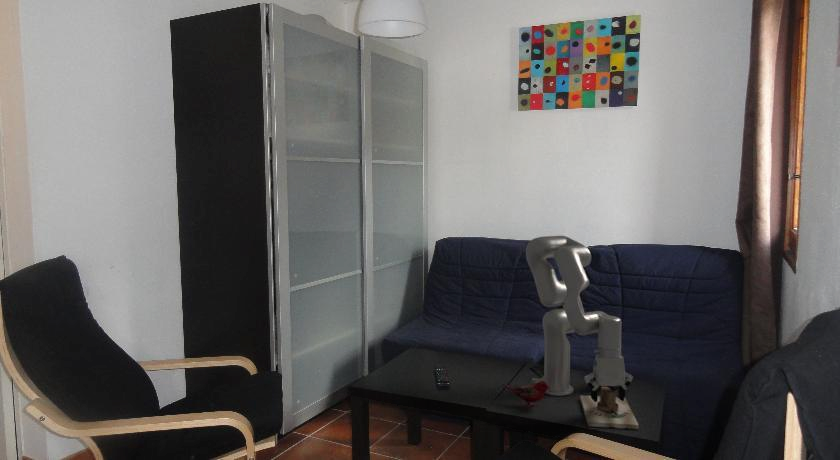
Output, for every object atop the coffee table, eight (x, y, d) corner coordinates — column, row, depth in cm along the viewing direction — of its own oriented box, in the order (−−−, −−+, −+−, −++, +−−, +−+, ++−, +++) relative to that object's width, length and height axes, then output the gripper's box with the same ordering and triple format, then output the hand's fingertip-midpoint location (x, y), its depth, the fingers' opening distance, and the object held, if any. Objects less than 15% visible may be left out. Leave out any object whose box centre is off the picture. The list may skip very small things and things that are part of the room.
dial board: (588, 426, 197) (588, 421, 196) (580, 399, 220) (580, 394, 220) (638, 429, 194) (638, 424, 194) (624, 401, 218) (625, 397, 218)
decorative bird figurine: (548, 411, 209) (548, 383, 208) (500, 402, 217) (501, 375, 216) (550, 408, 212) (551, 381, 211) (503, 399, 220) (504, 373, 219)
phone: (547, 365, 257) (562, 376, 243) (546, 367, 258) (562, 379, 243) (530, 366, 256) (544, 377, 241) (529, 368, 256) (544, 380, 241)
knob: (593, 404, 210) (594, 387, 209) (612, 404, 211) (613, 386, 210) (606, 416, 200) (607, 398, 199) (626, 415, 200) (626, 397, 200)
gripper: (589, 356, 200) (588, 405, 202) (638, 354, 202) (636, 403, 204) (581, 349, 208) (579, 397, 209) (628, 348, 210) (626, 395, 211)
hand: (607, 400), depth 207 cm, fingers open, 9 cm apart
